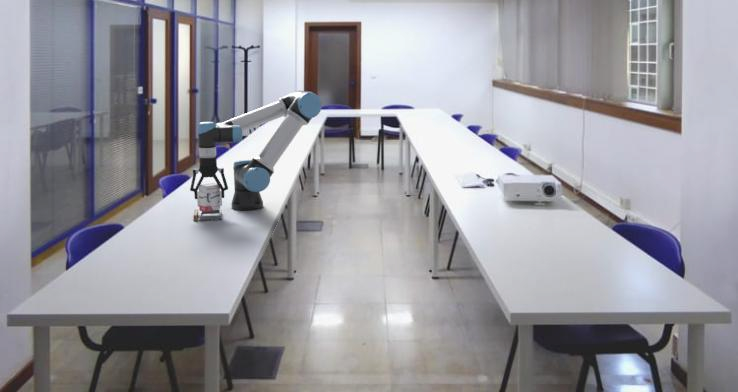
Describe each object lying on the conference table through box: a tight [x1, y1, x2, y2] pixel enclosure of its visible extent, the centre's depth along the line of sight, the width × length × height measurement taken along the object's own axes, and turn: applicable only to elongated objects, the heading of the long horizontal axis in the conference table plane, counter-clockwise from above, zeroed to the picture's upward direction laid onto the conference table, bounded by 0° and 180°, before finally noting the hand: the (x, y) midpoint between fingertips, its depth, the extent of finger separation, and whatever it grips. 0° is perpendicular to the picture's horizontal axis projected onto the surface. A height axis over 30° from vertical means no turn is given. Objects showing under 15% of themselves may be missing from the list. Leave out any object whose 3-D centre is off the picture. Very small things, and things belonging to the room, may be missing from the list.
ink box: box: [198, 182, 221, 212], centre depth 322 cm, size 9×5×12 cm, turn 141°
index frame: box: [198, 208, 222, 222], centre depth 323 cm, size 10×14×2 cm
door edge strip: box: [192, 209, 199, 222], centre depth 322 cm, size 2×12×2 cm, turn 11°
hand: (209, 205), depth 323 cm, fingers closed on ink box, 9 cm apart
